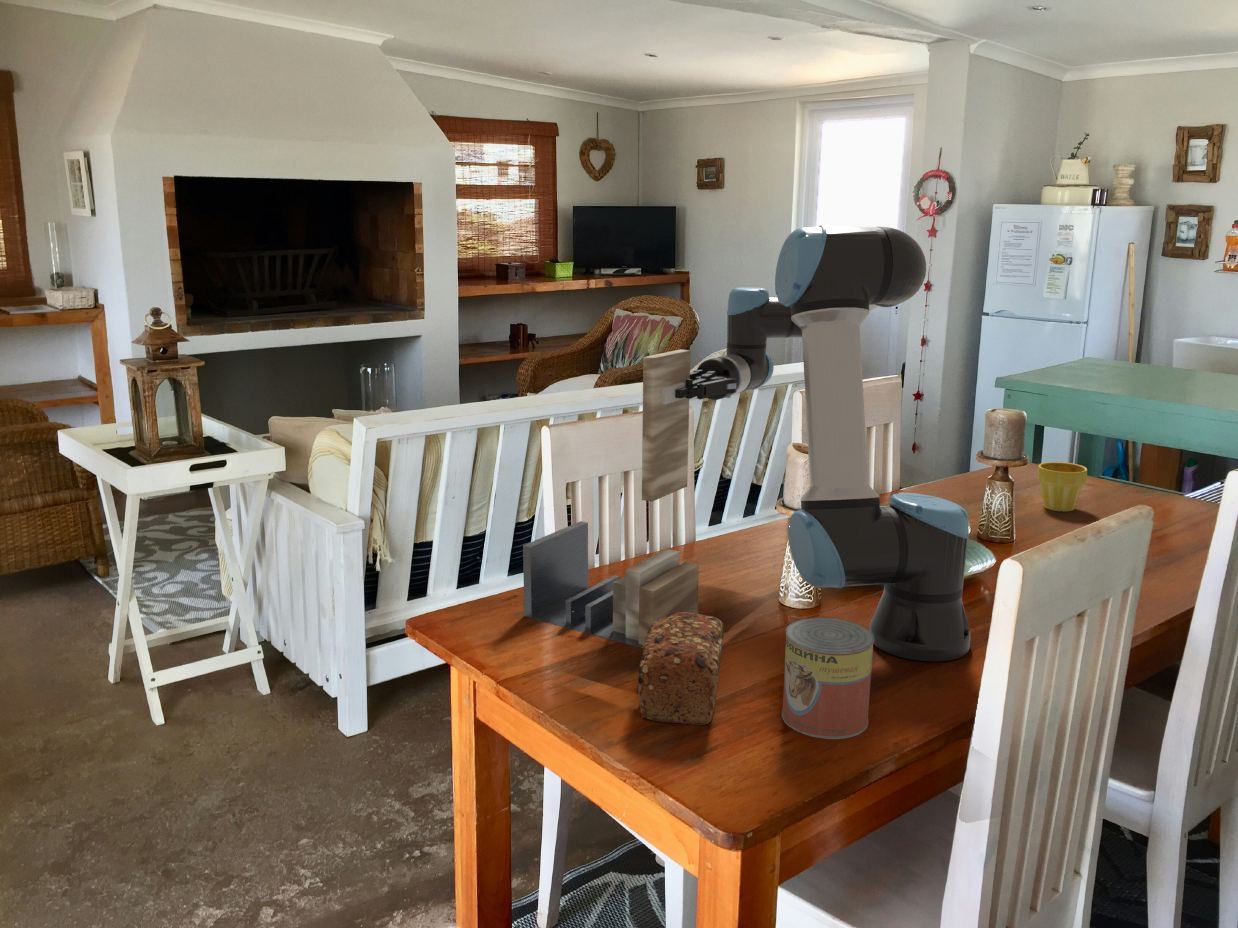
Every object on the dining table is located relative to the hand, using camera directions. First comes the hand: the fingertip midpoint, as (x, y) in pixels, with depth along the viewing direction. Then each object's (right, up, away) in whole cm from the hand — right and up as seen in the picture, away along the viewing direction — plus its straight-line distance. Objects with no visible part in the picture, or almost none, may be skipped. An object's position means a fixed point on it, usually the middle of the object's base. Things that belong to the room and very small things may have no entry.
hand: (656, 395), depth 166 cm
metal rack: (-7, -38, -2) cm, 38 cm away
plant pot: (+95, -22, +66) cm, 118 cm away
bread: (+3, -44, -25) cm, 51 cm away
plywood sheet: (+2, -16, +7) cm, 18 cm away
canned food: (+21, -45, -32) cm, 59 cm away
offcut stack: (-1, -37, -6) cm, 38 cm away
